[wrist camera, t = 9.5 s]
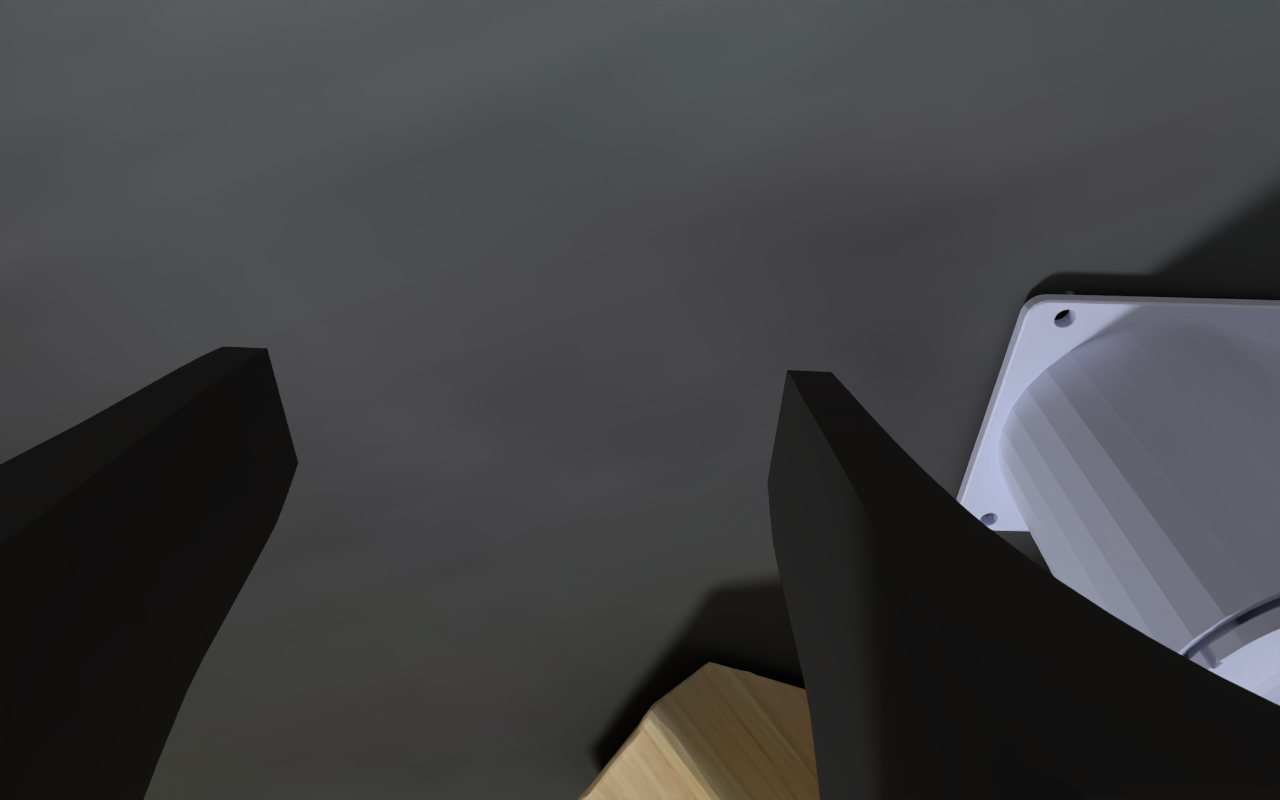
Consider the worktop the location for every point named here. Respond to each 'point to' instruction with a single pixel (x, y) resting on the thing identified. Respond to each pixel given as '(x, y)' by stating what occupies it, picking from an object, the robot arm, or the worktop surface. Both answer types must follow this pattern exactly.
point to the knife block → (717, 744)
